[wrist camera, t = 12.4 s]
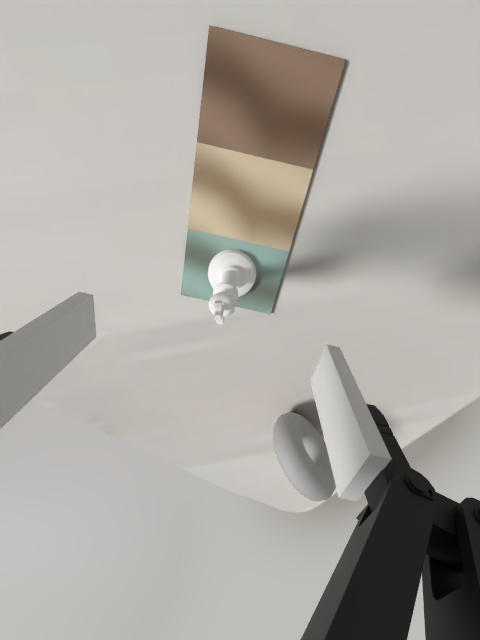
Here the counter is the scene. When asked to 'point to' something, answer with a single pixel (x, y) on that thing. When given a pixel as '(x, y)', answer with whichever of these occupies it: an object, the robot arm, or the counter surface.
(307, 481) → the donut
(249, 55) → the track
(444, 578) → the robot arm
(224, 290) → the chess piece
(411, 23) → the counter surface
